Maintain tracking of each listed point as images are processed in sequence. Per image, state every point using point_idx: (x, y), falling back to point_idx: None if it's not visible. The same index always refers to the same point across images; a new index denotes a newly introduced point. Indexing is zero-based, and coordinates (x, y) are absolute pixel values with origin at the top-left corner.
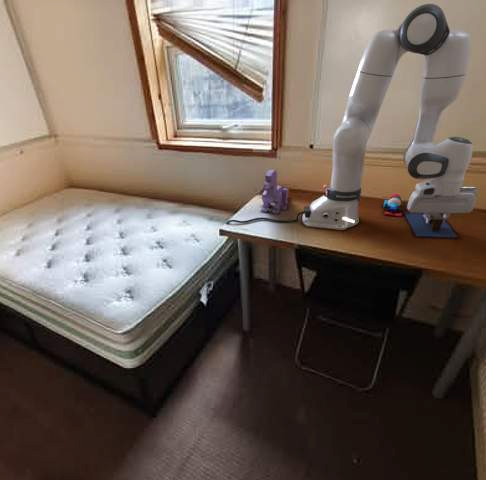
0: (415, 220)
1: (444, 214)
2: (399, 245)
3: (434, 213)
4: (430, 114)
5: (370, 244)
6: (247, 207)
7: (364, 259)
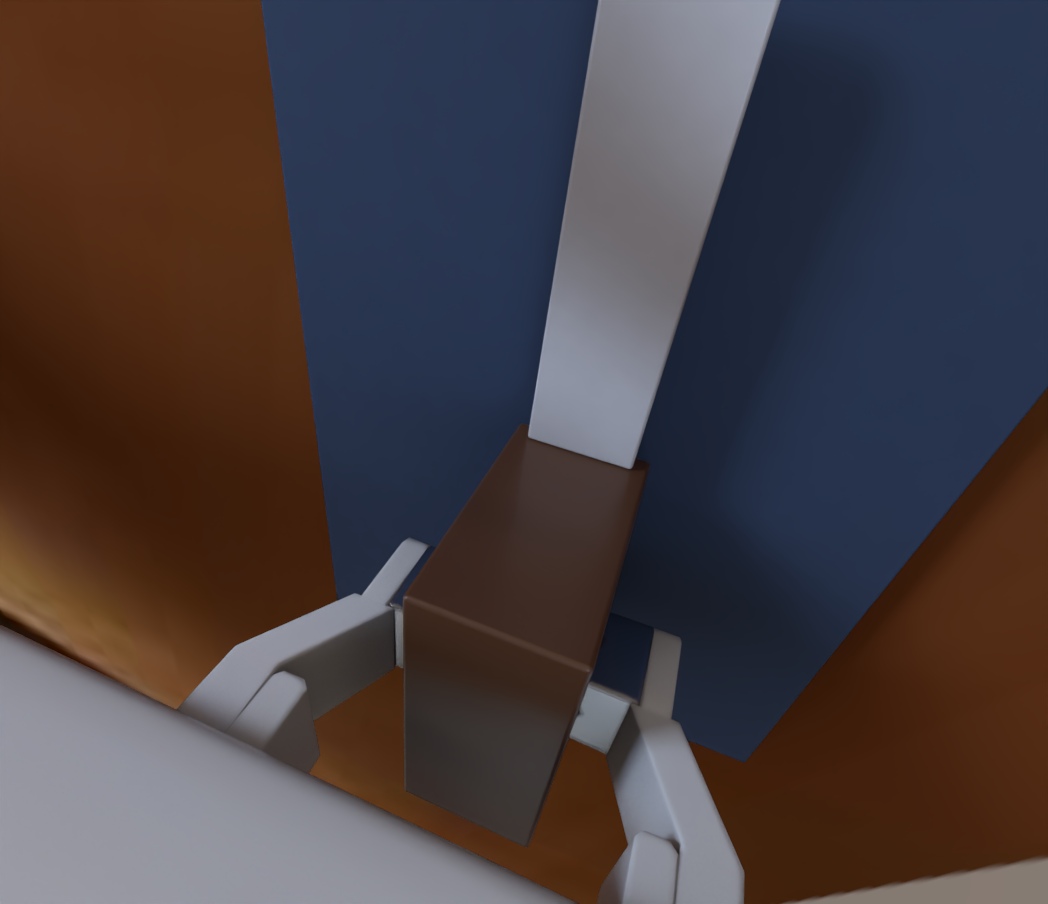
0: (402, 161)
1: (667, 800)
2: (212, 635)
3: (474, 669)
4: None
5: (42, 562)
6: None
7: None
